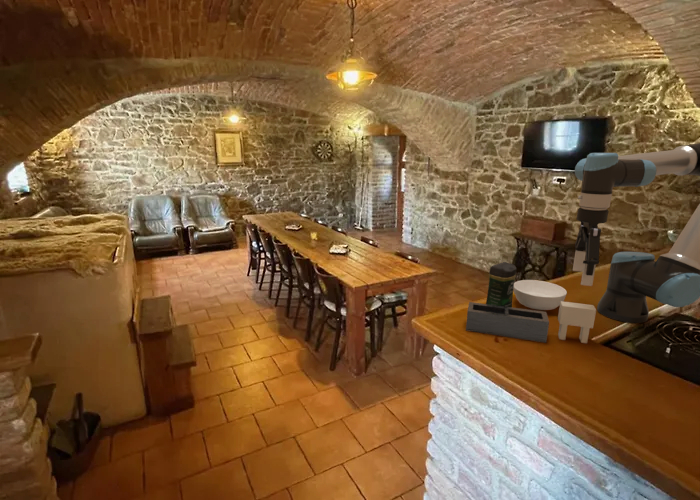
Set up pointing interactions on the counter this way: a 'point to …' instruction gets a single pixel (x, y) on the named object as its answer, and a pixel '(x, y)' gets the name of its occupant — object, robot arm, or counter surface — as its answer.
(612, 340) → the counter surface
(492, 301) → the coffee jar
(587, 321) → the tall white notched block
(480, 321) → the grey rectangular trough
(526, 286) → the bowl
